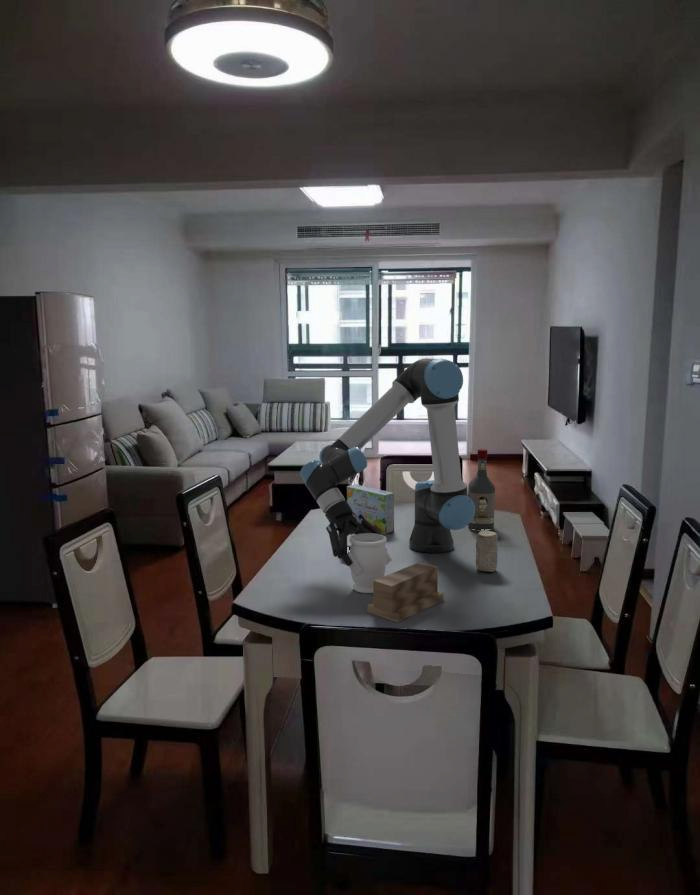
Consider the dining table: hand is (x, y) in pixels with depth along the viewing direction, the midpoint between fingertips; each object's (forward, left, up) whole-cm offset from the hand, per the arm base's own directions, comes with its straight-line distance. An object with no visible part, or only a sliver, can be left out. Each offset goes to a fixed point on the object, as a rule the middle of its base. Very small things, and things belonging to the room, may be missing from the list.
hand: (374, 568), depth 187 cm
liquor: (-77, -12, -7) cm, 78 cm away
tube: (-24, -33, -7) cm, 41 cm away
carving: (-36, +15, -7) cm, 39 cm away
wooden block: (+3, +14, -7) cm, 15 cm away
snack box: (-50, -44, -7) cm, 67 cm away
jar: (0, -2, -7) cm, 7 cm away
